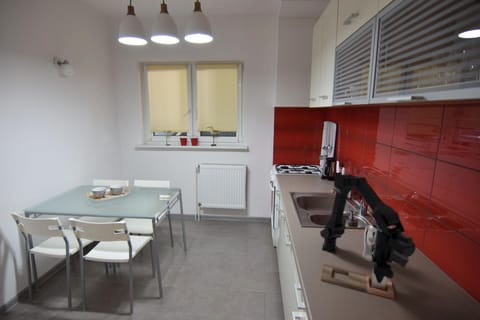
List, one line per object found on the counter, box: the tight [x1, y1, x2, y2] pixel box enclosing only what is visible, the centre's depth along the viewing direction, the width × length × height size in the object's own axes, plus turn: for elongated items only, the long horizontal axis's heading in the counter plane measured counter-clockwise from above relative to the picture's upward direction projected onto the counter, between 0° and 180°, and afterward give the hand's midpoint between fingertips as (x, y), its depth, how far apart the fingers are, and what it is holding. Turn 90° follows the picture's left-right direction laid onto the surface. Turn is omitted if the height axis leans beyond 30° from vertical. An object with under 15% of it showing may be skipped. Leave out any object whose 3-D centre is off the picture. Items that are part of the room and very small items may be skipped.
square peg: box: [370, 262, 388, 291], centre depth 104 cm, size 4×4×8 cm
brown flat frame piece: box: [320, 263, 395, 300], centre depth 108 cm, size 10×26×1 cm, turn 67°
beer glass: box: [362, 224, 377, 263], centre depth 123 cm, size 7×7×15 cm
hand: (378, 278), depth 104 cm, fingers closed on square peg, 4 cm apart
